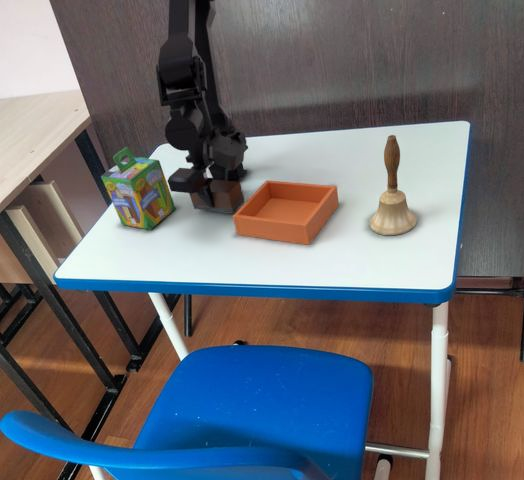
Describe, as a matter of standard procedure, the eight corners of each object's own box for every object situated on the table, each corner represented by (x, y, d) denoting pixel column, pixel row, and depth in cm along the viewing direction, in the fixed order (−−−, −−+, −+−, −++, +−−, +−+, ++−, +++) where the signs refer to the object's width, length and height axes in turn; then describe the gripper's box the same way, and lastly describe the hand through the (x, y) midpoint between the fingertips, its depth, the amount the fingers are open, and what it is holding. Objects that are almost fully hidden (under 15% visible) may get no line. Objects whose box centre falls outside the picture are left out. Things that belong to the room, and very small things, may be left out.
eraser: (194, 208, 110) (187, 189, 107) (205, 197, 113) (199, 178, 110) (233, 213, 106) (228, 193, 103) (244, 201, 108) (239, 181, 105)
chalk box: (151, 231, 110) (124, 165, 100) (120, 225, 115) (92, 161, 105) (177, 208, 115) (154, 142, 105) (147, 203, 120) (122, 139, 110)
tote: (237, 234, 103) (232, 216, 100) (270, 198, 110) (266, 180, 107) (308, 245, 95) (305, 225, 93) (339, 205, 103) (336, 185, 100)
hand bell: (419, 210, 96) (420, 123, 85) (413, 236, 91) (413, 147, 80) (374, 210, 99) (369, 126, 88) (365, 235, 94) (359, 149, 83)
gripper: (203, 152, 89) (226, 231, 100) (257, 104, 99) (273, 180, 110) (153, 149, 94) (180, 224, 105) (209, 104, 104) (229, 177, 115)
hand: (217, 201), depth 109 cm, fingers closed on eraser, 4 cm apart
